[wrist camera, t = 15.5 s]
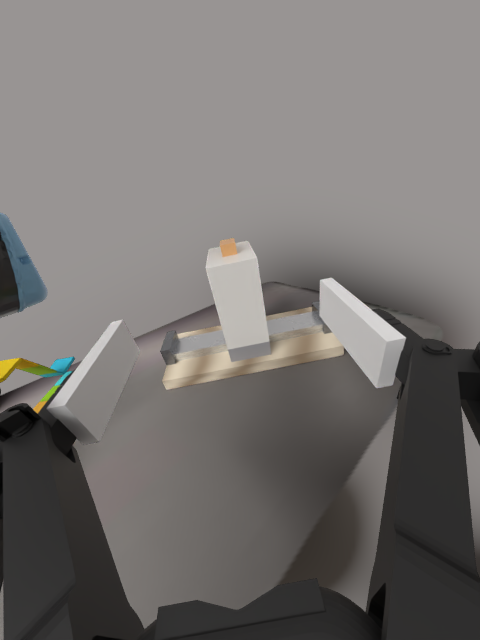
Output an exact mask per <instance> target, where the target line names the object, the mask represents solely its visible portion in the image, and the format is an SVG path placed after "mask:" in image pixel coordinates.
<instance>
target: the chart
mask: <svg viewBox="0 0 480 640" xmlns="http://www.w3.org/2000/svg"><path fill="white" fill-rule="evenodd" d="M74 359H75V358H74V357H69V358H64V359H57V360H55V362H54V363H53V365H52V366H51V367H50V368H48V367H45V366H42V365H39V364H36V363H34V362H31V361H28V360H25V359H22V358H16V359H10V360H4V361H0V383H1V382H3V381H4V380H6V378H8V376H9V375H10V374H11V373H12V372H13V371H14V369H15V368H16V369H20V370H23V371H26V372H30V373H33V374H36V375H40V376H43V377H52V376H58V375H63V376H62V377H61V378H60V379H59V381H58V382H57V383H56V384H55V385H54V386H53V387H52V389H51V390H50V391H49V392H48V393H47V394H46V395H45V396H44V397H43V398H42V400H41V401H40V402H39V403H38V404H37V405H36V406H35V408H34V409H33V410H34V411H35V412H36V413H37V414H38V412H39V411H40V410H41V409H42V407H43V406H44V405H45V403H46V402H47V401H48V400H49V398H50V397H51V396H52V394H53V393H55V391H56V389H57V388H58V387H59V386H60V384H61V383H62V382H63V380H64V379H65V378H66V377H67V376H68V375H69V374H70V373H71V372H73V371H70V372H67V370H68V369H69V367H70V366H71V364H72V363H73V361H74Z"/></svg>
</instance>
